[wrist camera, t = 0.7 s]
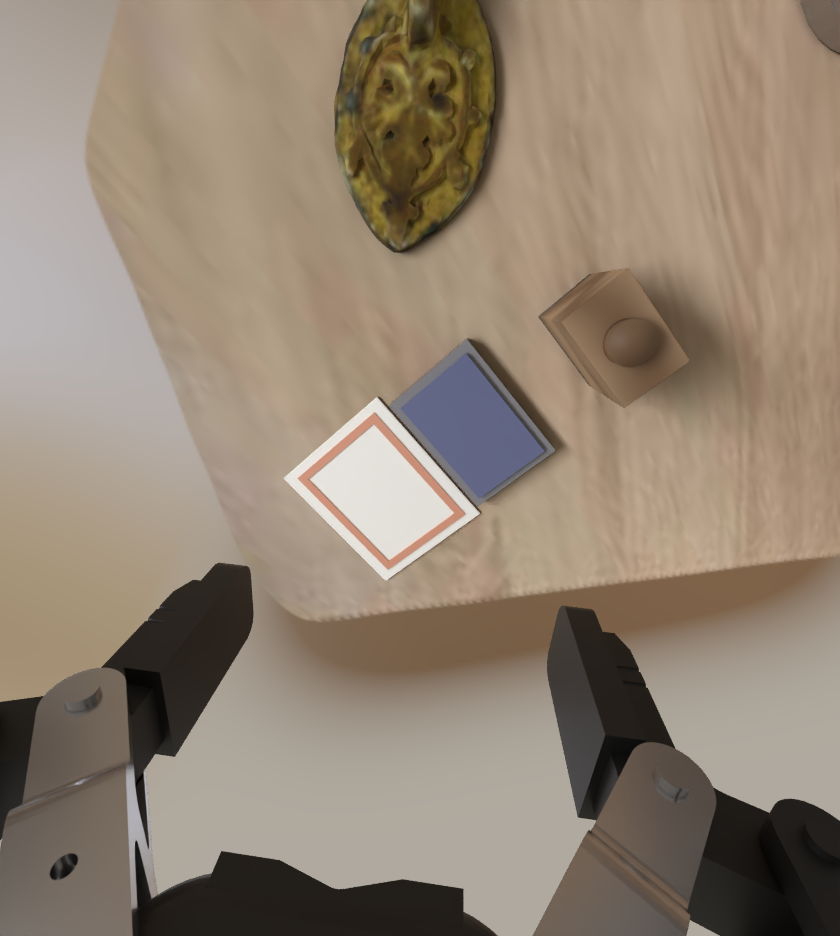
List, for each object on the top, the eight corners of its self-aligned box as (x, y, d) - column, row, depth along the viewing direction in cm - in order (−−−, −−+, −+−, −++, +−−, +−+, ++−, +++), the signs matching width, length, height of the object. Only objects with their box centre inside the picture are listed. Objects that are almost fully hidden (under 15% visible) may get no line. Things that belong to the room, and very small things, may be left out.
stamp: (589, 274, 30) (636, 266, 22) (639, 347, 31) (699, 363, 23) (538, 316, 31) (565, 323, 23) (588, 385, 32) (630, 412, 24)
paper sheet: (377, 396, 33) (376, 397, 33) (479, 512, 36) (479, 514, 36) (284, 477, 36) (283, 478, 36) (386, 579, 39) (385, 581, 38)
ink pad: (466, 338, 31) (467, 340, 30) (552, 445, 34) (556, 452, 32) (391, 402, 33) (388, 407, 32) (476, 499, 36) (477, 508, 34)
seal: (471, 262, 31) (508, -32, 25) (484, 258, 27) (532, -98, 21) (332, 247, 30) (339, -60, 25) (322, 241, 26) (327, -133, 20)
